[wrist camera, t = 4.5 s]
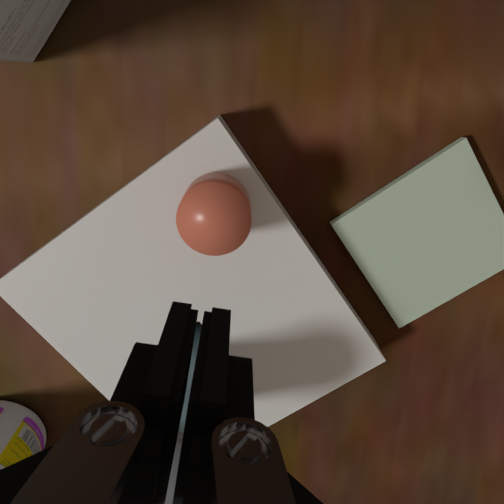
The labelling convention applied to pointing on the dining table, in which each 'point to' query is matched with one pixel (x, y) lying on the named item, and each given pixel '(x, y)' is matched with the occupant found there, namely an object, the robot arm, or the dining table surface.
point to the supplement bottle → (19, 433)
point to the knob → (214, 214)
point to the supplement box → (27, 26)
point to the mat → (427, 233)
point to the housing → (194, 284)
